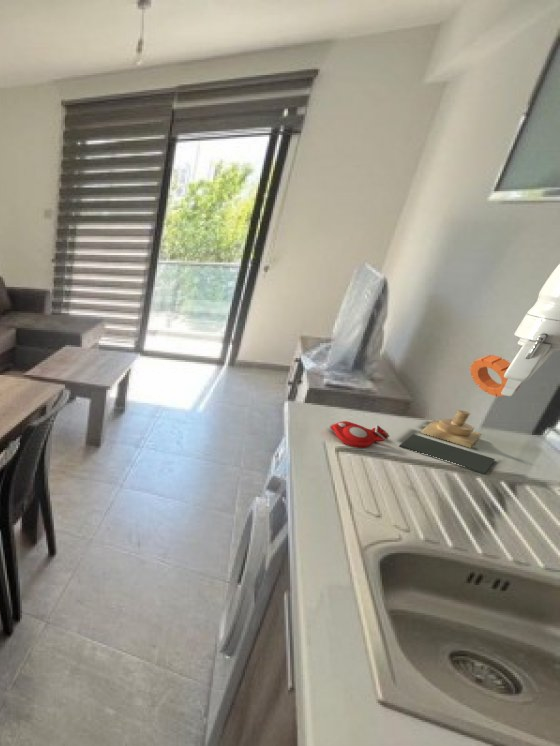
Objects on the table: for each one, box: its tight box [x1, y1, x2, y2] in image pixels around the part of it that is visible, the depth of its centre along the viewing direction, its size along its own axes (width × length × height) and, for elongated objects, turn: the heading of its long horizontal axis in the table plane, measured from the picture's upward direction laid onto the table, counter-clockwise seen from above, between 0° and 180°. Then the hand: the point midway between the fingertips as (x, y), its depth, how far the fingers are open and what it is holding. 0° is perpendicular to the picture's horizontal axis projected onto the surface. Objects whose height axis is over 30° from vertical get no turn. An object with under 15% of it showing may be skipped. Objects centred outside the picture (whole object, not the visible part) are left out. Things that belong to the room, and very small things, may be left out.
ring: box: [469, 354, 521, 398], centre depth 110 cm, size 10×10×2 cm
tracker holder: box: [330, 420, 391, 449], centre depth 123 cm, size 12×4×10 cm
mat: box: [398, 433, 496, 475], centre depth 119 cm, size 16×12×1 cm
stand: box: [421, 409, 482, 449], centre depth 127 cm, size 10×10×7 cm
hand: (508, 392), depth 108 cm, fingers closed on ring, 5 cm apart
